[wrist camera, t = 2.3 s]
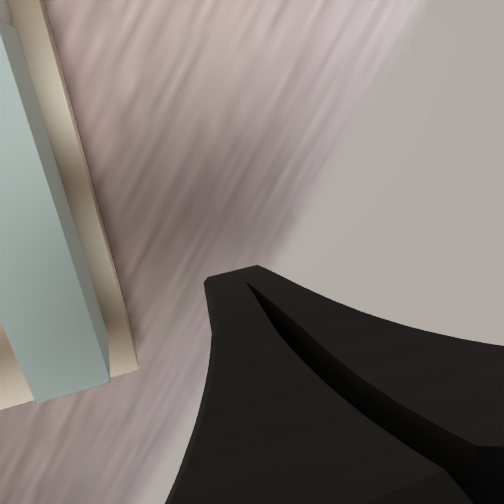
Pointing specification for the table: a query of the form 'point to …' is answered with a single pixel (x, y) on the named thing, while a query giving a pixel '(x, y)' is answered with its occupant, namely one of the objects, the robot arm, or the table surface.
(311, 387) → the robot arm
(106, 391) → the table surface
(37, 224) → the stool leg
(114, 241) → the table surface
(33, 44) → the stool seat
